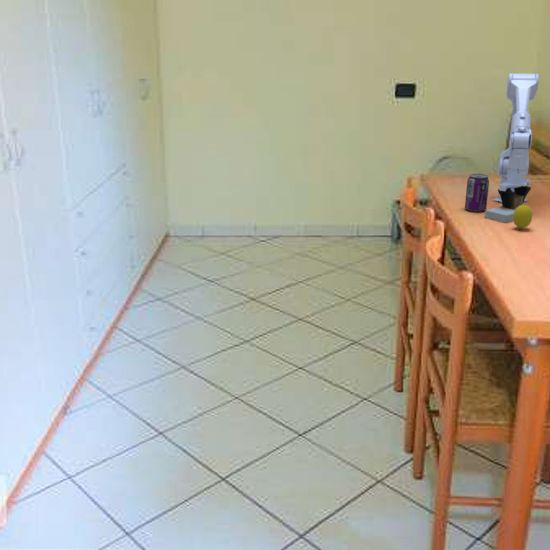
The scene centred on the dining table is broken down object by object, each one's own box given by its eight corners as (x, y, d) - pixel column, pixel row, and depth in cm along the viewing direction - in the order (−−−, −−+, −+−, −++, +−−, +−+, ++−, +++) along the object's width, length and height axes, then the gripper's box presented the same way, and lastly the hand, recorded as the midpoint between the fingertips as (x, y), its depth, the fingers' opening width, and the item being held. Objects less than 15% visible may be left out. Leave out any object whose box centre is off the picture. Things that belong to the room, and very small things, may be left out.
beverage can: (486, 213, 228) (490, 178, 224) (465, 212, 229) (468, 177, 225) (485, 207, 234) (488, 173, 230) (464, 206, 236) (467, 172, 232)
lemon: (530, 227, 212) (533, 202, 209) (530, 232, 207) (533, 207, 204) (511, 225, 214) (514, 201, 211) (511, 230, 209) (514, 205, 206)
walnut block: (509, 210, 231) (511, 193, 229) (521, 213, 228) (523, 196, 225) (501, 212, 228) (503, 195, 226) (513, 215, 225) (515, 198, 223)
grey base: (499, 213, 227) (500, 206, 226) (520, 218, 221) (521, 211, 220) (484, 217, 223) (485, 210, 222) (505, 223, 217) (506, 215, 216)
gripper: (514, 173, 216) (509, 214, 220) (540, 167, 224) (535, 207, 229) (495, 170, 221) (491, 210, 226) (521, 164, 229) (517, 203, 234)
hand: (512, 208), depth 227 cm, fingers open, 6 cm apart
